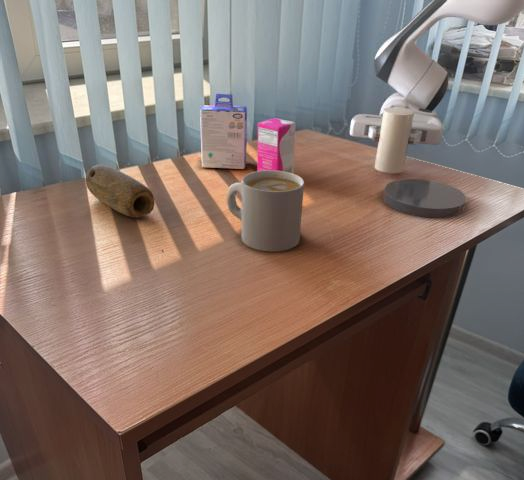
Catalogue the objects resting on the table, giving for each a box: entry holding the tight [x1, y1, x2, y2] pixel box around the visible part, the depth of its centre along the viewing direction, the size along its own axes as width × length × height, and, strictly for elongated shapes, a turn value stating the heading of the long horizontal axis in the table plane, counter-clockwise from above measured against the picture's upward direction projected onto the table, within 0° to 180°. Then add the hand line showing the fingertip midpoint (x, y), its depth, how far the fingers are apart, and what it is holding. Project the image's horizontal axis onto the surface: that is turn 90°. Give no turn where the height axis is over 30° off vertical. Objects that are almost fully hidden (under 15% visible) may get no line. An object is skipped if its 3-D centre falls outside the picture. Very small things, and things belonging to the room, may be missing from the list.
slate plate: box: [382, 178, 467, 219], centre depth 104 cm, size 16×16×2 cm
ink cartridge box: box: [199, 93, 248, 170], centre depth 114 cm, size 10×6×14 cm, turn 89°
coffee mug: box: [226, 170, 305, 252], centre depth 87 cm, size 13×10×10 cm
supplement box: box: [256, 117, 296, 174], centre depth 109 cm, size 6×6×12 cm
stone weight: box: [85, 164, 155, 218], centre depth 95 cm, size 15×7×7 cm, turn 49°
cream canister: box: [374, 107, 415, 174], centre depth 112 cm, size 6×6×12 cm
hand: (394, 138), depth 111 cm, fingers closed on cream canister, 6 cm apart
